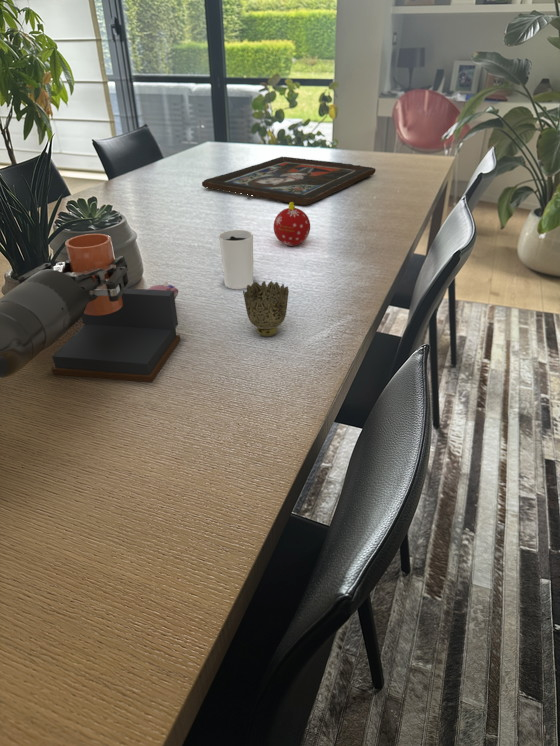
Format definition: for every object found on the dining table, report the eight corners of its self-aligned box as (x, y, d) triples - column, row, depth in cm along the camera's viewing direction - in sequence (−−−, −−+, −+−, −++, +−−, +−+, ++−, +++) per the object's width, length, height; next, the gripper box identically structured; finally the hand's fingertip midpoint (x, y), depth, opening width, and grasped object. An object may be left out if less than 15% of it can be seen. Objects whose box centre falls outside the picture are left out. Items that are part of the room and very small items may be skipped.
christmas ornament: (266, 246, 130) (265, 203, 124) (288, 236, 136) (287, 195, 130) (296, 253, 125) (295, 209, 120) (317, 242, 131) (317, 200, 126)
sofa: (52, 374, 84) (37, 321, 79) (92, 333, 95) (80, 285, 90) (151, 382, 81) (141, 328, 77) (180, 340, 92) (173, 290, 87)
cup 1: (73, 314, 79) (56, 247, 74) (93, 297, 84) (78, 232, 79) (112, 316, 78) (98, 248, 73) (129, 299, 83) (117, 234, 78)
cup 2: (281, 346, 90) (279, 301, 85) (239, 340, 92) (236, 296, 87) (294, 325, 95) (294, 283, 91) (255, 320, 98) (252, 278, 93)
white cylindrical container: (217, 287, 110) (212, 239, 105) (231, 275, 115) (227, 228, 110) (247, 291, 108) (244, 242, 103) (260, 279, 113) (258, 231, 108)
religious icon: (198, 191, 175) (197, 181, 173) (279, 164, 205) (279, 155, 204) (305, 209, 155) (305, 198, 153) (377, 176, 186) (377, 166, 184)
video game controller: (139, 334, 98) (146, 306, 93) (120, 318, 98) (127, 289, 93) (176, 312, 104) (185, 285, 100) (159, 298, 105) (167, 270, 100)
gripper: (87, 285, 63) (144, 238, 77) (-25, 279, 65) (50, 234, 79) (100, 343, 67) (152, 288, 81) (-6, 335, 69) (62, 283, 83)
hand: (101, 261), depth 80 cm, fingers closed on cup 1, 6 cm apart
